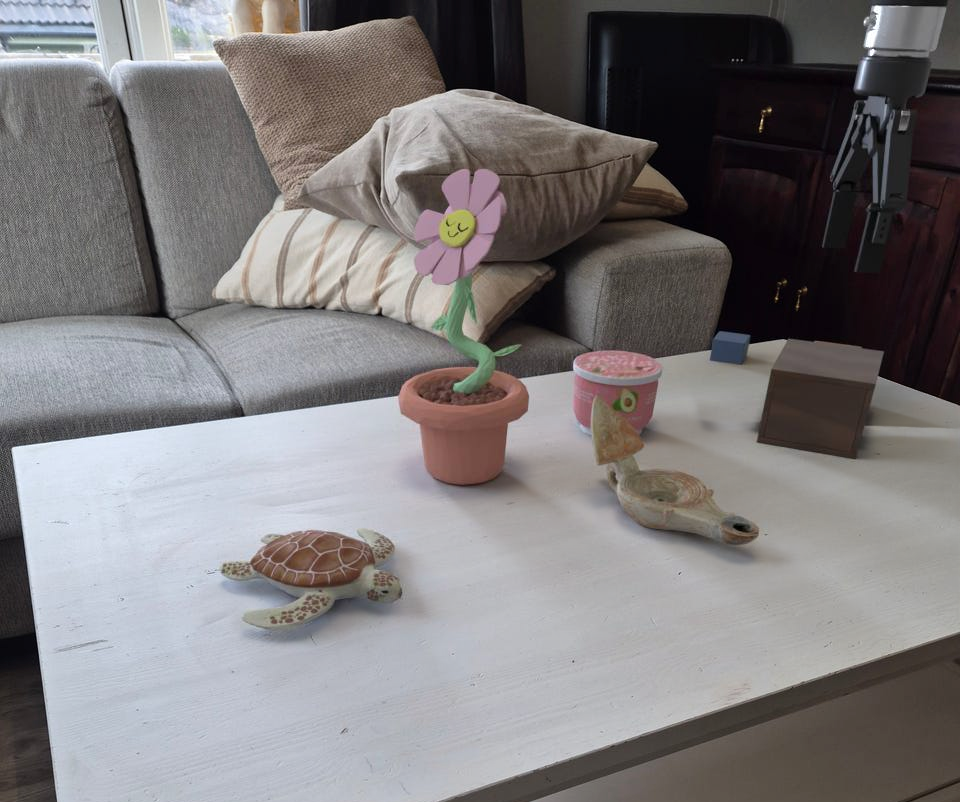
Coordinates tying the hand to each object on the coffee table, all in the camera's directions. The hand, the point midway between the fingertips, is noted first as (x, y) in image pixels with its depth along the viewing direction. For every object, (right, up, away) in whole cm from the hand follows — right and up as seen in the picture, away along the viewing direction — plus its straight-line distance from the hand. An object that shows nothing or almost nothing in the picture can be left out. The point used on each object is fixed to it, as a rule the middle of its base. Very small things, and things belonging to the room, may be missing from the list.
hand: (849, 259), depth 113 cm
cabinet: (-4, -21, +1) cm, 21 cm away
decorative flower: (-48, -28, -11) cm, 56 cm away
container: (-29, -21, +1) cm, 36 cm away
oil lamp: (-27, -35, -20) cm, 48 cm away
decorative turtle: (-59, -42, -32) cm, 79 cm away
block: (-9, -7, +21) cm, 24 cm away
